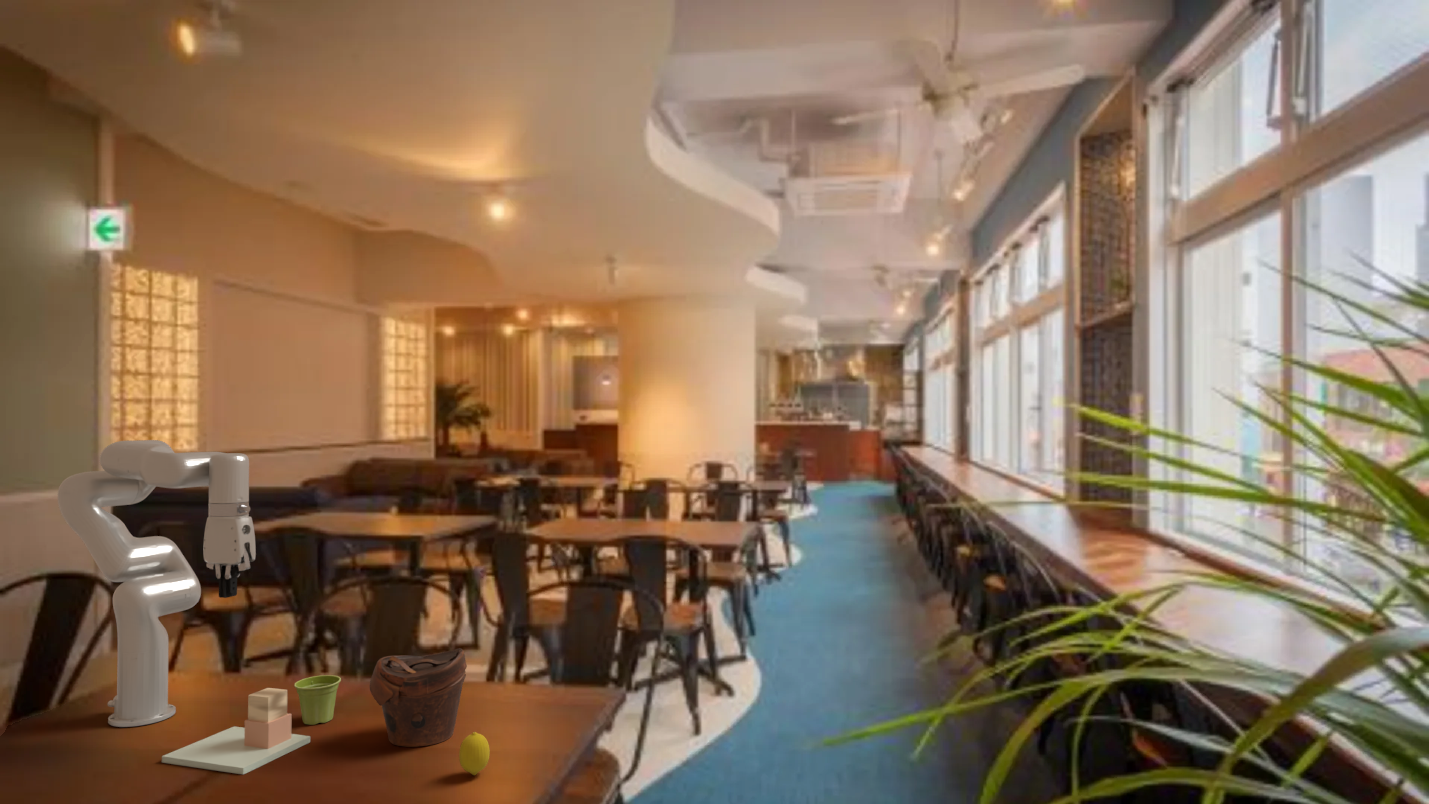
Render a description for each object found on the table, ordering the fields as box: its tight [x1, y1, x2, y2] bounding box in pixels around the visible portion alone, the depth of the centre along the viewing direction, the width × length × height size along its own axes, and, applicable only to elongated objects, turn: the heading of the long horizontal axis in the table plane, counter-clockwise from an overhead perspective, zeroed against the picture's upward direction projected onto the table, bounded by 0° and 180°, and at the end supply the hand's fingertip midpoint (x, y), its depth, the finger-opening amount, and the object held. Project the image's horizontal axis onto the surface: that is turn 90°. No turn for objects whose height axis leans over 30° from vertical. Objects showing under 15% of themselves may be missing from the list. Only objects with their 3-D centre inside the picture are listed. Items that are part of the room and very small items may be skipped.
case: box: [369, 647, 468, 748], centre depth 180 cm, size 18×20×18 cm
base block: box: [244, 712, 293, 749], centre depth 174 cm, size 6×6×5 cm
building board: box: [161, 725, 311, 775], centre depth 172 cm, size 20×17×1 cm
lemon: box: [458, 731, 491, 776], centre depth 160 cm, size 6×6×8 cm
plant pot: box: [293, 674, 342, 726], centre depth 190 cm, size 9×9×9 cm
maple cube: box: [247, 687, 288, 722], centre depth 174 cm, size 5×5×5 cm
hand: (227, 596), depth 183 cm, fingers closed
